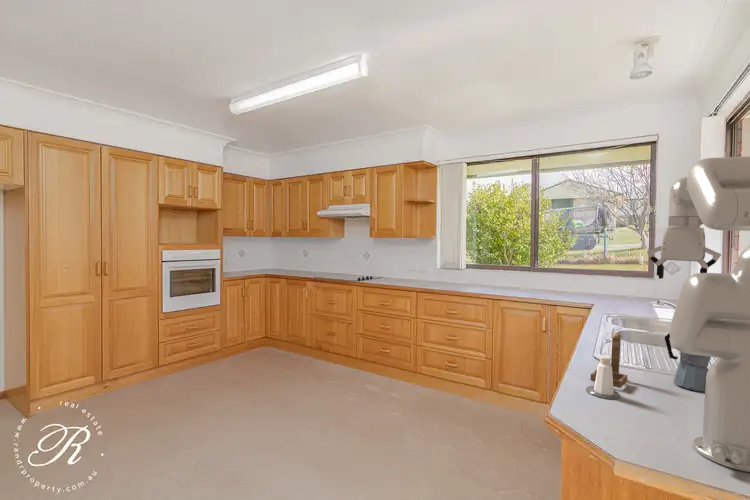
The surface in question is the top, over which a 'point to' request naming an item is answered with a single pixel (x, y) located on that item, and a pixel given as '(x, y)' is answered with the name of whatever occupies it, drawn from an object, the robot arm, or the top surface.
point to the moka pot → (690, 369)
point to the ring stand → (615, 363)
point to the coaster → (591, 391)
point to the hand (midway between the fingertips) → (680, 280)
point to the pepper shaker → (604, 377)
